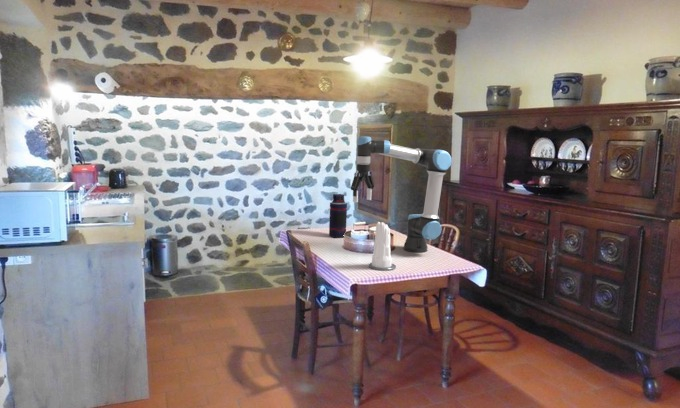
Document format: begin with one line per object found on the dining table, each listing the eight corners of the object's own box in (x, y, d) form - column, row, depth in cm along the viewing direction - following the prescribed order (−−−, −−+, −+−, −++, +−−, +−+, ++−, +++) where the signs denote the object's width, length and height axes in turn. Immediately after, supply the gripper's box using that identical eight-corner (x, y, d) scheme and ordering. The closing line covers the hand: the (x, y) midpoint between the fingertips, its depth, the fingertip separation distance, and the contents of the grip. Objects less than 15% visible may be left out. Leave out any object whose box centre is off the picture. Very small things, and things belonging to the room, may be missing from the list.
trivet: (378, 261, 280) (378, 260, 280) (400, 266, 271) (400, 265, 271) (363, 266, 268) (363, 265, 268) (386, 272, 259) (386, 270, 259)
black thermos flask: (348, 237, 339) (350, 195, 335) (332, 238, 335) (334, 195, 330) (340, 233, 352) (342, 192, 348) (325, 234, 347) (326, 193, 343)
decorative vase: (380, 261, 277) (382, 218, 273) (395, 265, 270) (397, 221, 266) (367, 265, 269) (369, 220, 265) (382, 269, 262) (384, 223, 258)
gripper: (370, 162, 287) (369, 198, 290) (345, 164, 268) (343, 202, 271) (381, 163, 283) (379, 199, 286) (356, 165, 263) (354, 203, 266)
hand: (362, 200), depth 278 cm, fingers open, 13 cm apart
